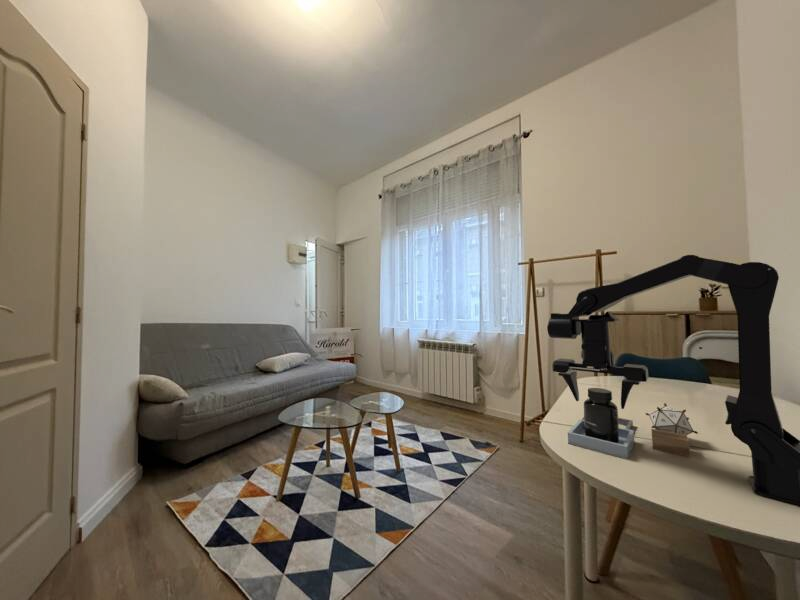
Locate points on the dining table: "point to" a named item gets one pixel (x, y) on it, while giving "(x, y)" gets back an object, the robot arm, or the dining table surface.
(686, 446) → the block
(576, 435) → the parts tray
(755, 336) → the robot arm
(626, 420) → the grey square frame
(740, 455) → the dining table surface
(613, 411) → the supplement bottle
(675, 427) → the game die
